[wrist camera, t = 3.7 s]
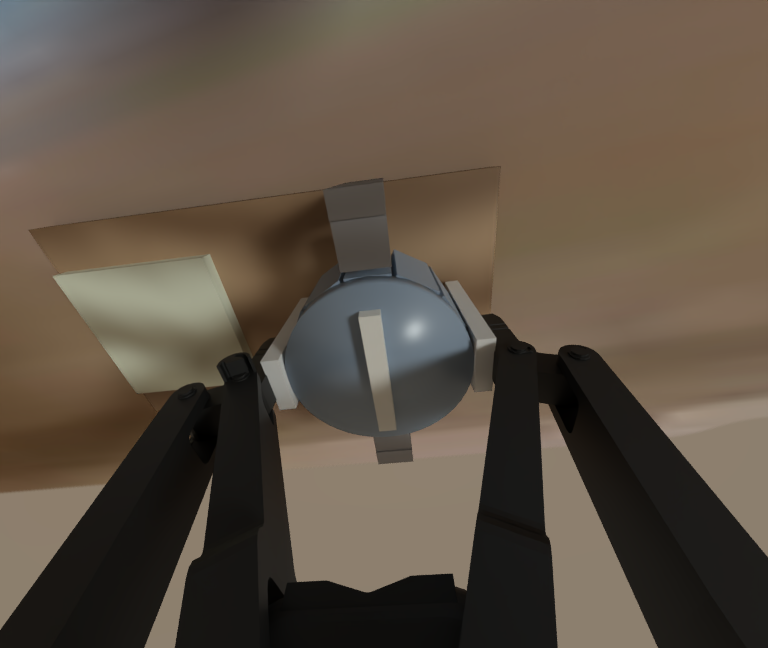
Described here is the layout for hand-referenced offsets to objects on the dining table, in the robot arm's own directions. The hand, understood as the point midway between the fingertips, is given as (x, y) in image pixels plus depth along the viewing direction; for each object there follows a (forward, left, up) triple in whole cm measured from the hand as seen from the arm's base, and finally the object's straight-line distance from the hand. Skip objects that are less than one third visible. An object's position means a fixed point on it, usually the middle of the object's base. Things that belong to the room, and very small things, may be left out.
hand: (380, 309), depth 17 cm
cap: (0, 0, +1) cm, 1 cm away
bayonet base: (0, -6, -2) cm, 6 cm away
